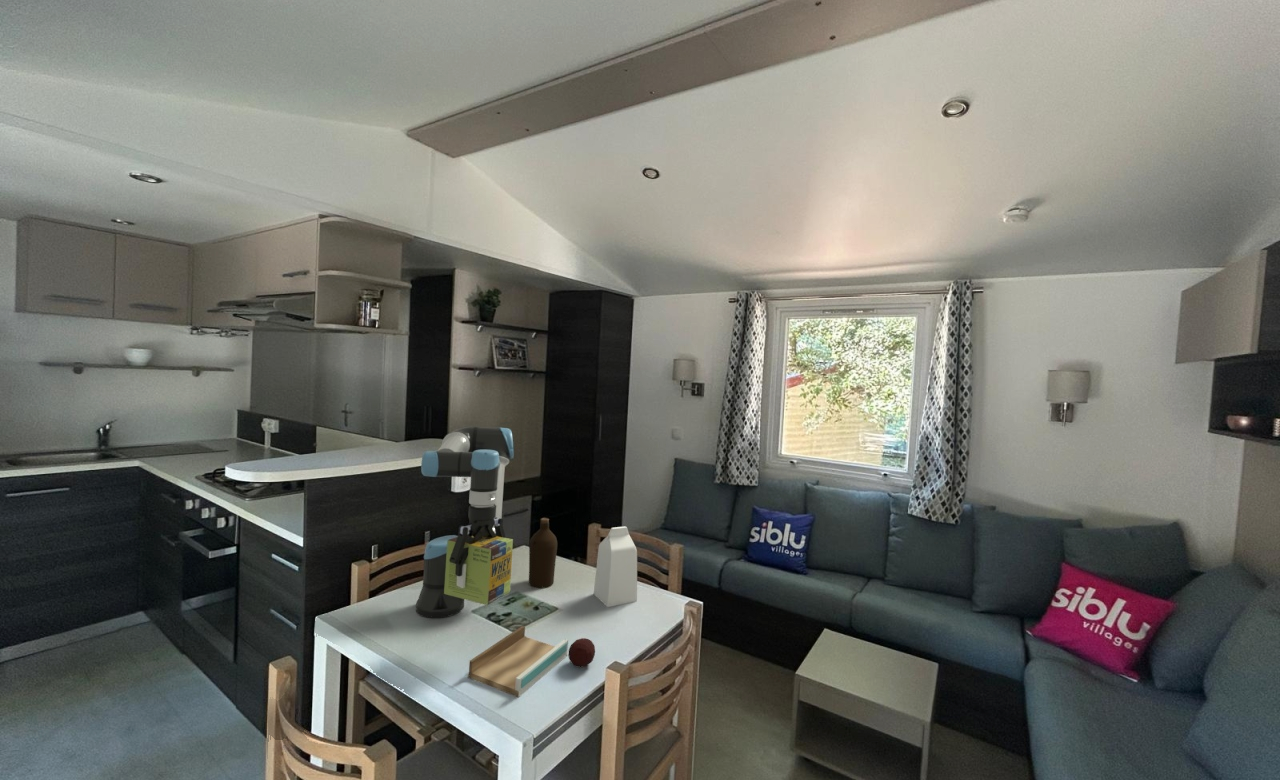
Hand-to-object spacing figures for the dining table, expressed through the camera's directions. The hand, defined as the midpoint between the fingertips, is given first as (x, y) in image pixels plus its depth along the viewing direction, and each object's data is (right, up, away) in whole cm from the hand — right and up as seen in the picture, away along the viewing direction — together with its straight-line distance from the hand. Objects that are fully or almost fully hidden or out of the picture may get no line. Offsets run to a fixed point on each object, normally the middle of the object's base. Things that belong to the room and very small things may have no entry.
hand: (478, 580), depth 144 cm
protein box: (0, -4, 0) cm, 4 cm away
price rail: (+20, -22, -9) cm, 31 cm away
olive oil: (+8, -20, +50) cm, 55 cm away
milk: (+37, -22, +41) cm, 60 cm away
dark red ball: (+30, -22, -4) cm, 37 cm away
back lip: (+7, -21, -3) cm, 22 cm away
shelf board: (+13, -21, -6) cm, 26 cm away
